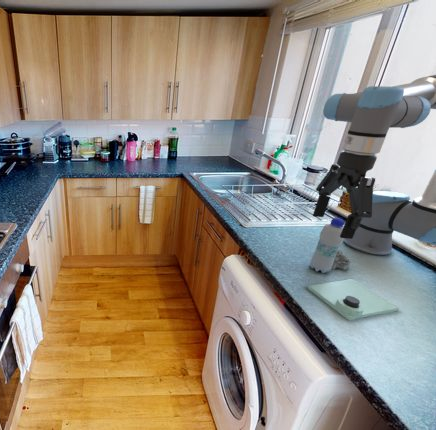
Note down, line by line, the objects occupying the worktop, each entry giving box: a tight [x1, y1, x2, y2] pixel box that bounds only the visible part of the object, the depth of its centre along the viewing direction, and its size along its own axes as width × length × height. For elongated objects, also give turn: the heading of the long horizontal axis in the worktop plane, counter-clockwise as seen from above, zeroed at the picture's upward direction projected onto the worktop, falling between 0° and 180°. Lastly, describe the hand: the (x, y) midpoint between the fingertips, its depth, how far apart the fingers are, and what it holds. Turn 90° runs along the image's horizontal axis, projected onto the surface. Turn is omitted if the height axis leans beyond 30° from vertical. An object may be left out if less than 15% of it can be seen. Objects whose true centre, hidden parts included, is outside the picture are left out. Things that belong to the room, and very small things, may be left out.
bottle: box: [309, 217, 345, 274], centre depth 98 cm, size 7×7×20 cm
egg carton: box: [331, 249, 353, 271], centre depth 106 cm, size 11×8×4 cm
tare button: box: [344, 296, 360, 308], centre depth 81 cm, size 3×3×2 cm
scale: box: [307, 278, 400, 321], centre depth 87 cm, size 18×14×3 cm
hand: (330, 226), depth 82 cm, fingers open, 13 cm apart
